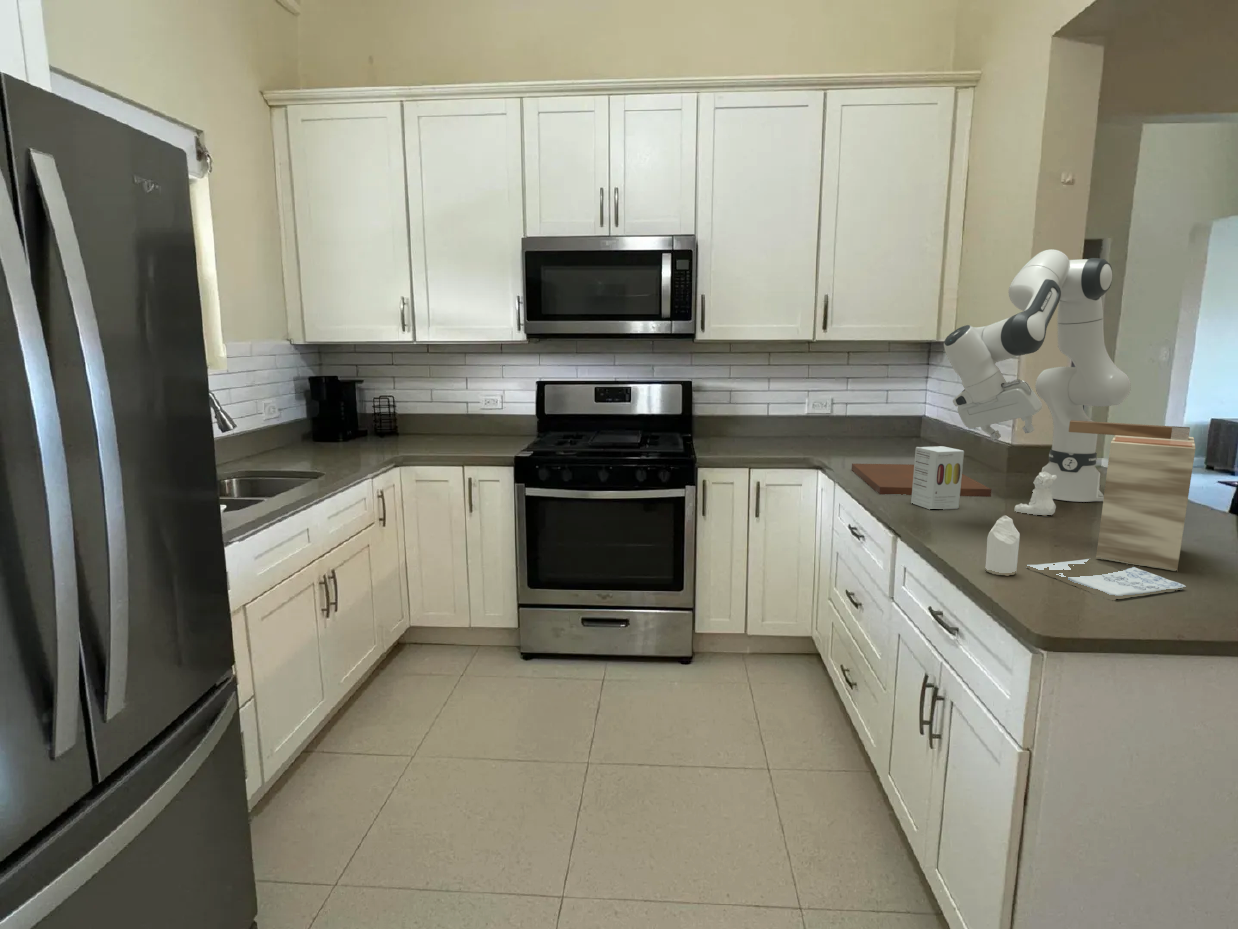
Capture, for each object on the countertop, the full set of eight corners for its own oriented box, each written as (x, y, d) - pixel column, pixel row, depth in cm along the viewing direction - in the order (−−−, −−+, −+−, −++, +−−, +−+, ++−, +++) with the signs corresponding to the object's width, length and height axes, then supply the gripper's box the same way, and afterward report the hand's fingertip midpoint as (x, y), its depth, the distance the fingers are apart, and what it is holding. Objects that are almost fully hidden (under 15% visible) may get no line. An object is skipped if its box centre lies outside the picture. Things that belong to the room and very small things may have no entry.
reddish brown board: (945, 473, 252) (851, 471, 256) (945, 465, 252) (851, 463, 255) (990, 498, 213) (879, 496, 216) (991, 489, 212) (880, 486, 216)
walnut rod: (1070, 430, 167) (1071, 419, 167) (1188, 438, 154) (1189, 427, 153) (1068, 432, 164) (1069, 421, 164) (1188, 440, 151) (1189, 429, 150)
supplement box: (931, 510, 196) (936, 451, 193) (909, 503, 205) (914, 446, 202) (960, 508, 198) (965, 450, 195) (937, 501, 207) (942, 445, 204)
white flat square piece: (1112, 604, 129) (1113, 593, 129) (1022, 570, 148) (1023, 560, 148) (1188, 593, 135) (1189, 583, 134) (1091, 561, 154) (1092, 552, 153)
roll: (998, 520, 140) (983, 513, 146) (993, 576, 143) (978, 567, 148) (1028, 519, 141) (1011, 512, 146) (1022, 576, 143) (1006, 567, 148)
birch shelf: (1103, 538, 169) (1117, 430, 164) (1176, 549, 160) (1193, 435, 156) (1095, 559, 153) (1110, 440, 149) (1176, 572, 145) (1195, 447, 140)
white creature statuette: (1036, 508, 198) (1041, 467, 196) (1065, 515, 190) (1070, 472, 188) (1012, 511, 195) (1016, 469, 193) (1040, 519, 187) (1045, 475, 185)
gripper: (1031, 371, 166) (1058, 420, 167) (961, 391, 185) (986, 435, 186) (1016, 383, 163) (1044, 434, 165) (947, 402, 182) (972, 447, 183)
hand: (1013, 435), depth 175 cm, fingers open, 8 cm apart
